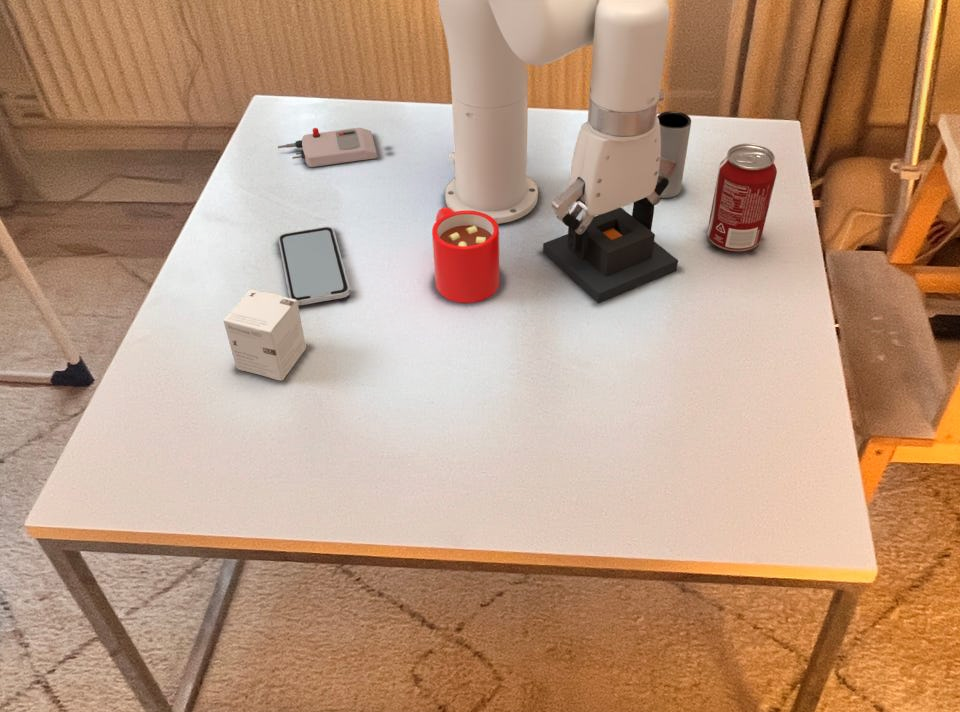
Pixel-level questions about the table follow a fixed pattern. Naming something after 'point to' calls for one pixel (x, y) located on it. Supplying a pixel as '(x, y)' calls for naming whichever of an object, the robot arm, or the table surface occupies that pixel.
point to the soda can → (742, 197)
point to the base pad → (612, 284)
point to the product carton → (265, 334)
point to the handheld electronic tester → (335, 146)
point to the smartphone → (313, 266)
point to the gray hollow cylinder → (674, 146)
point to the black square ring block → (618, 242)
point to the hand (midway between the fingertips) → (609, 241)
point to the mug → (466, 255)
